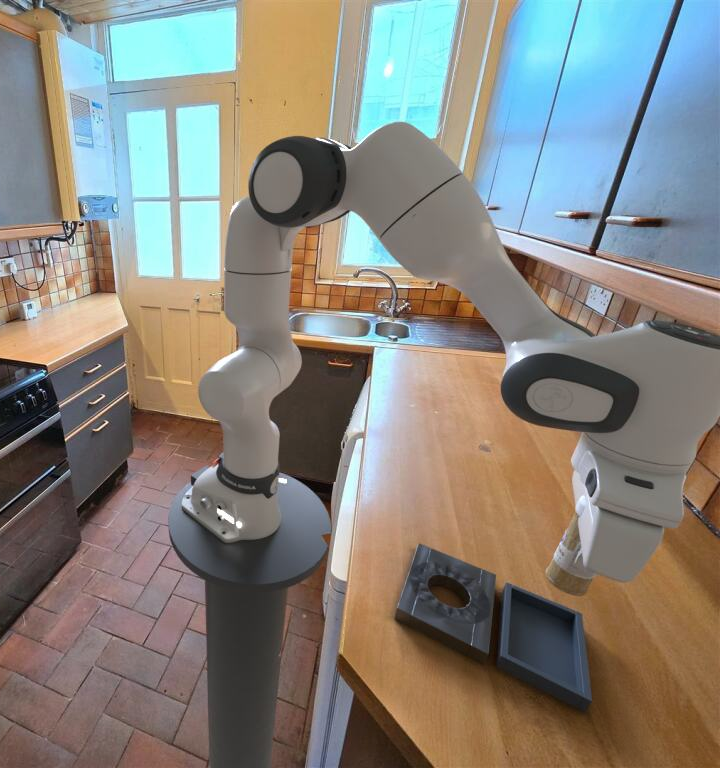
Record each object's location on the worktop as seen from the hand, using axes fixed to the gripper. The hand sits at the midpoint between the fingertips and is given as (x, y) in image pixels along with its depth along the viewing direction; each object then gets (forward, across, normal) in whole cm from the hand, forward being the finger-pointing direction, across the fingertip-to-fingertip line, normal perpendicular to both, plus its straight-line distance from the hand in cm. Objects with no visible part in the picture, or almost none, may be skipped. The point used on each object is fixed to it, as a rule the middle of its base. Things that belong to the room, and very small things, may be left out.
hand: (580, 552), depth 52 cm
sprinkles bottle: (+6, 0, 0) cm, 6 cm away
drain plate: (+18, 0, -12) cm, 22 cm away
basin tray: (+18, 0, 0) cm, 19 cm away
